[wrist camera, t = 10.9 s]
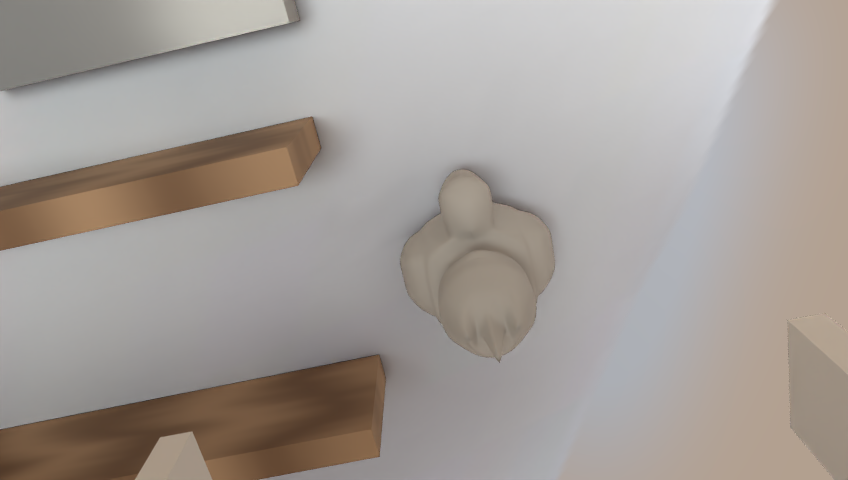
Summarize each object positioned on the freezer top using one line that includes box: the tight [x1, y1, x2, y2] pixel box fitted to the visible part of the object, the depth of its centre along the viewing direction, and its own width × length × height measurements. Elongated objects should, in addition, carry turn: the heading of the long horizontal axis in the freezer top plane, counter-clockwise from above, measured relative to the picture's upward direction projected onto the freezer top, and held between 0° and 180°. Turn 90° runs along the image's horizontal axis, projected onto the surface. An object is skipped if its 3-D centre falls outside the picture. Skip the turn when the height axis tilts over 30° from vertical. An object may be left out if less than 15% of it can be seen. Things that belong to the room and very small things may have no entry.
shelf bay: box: [0, 117, 386, 480], centre depth 24 cm, size 19×11×5 cm, turn 102°
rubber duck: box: [400, 169, 555, 363], centre depth 22 cm, size 5×7×8 cm
